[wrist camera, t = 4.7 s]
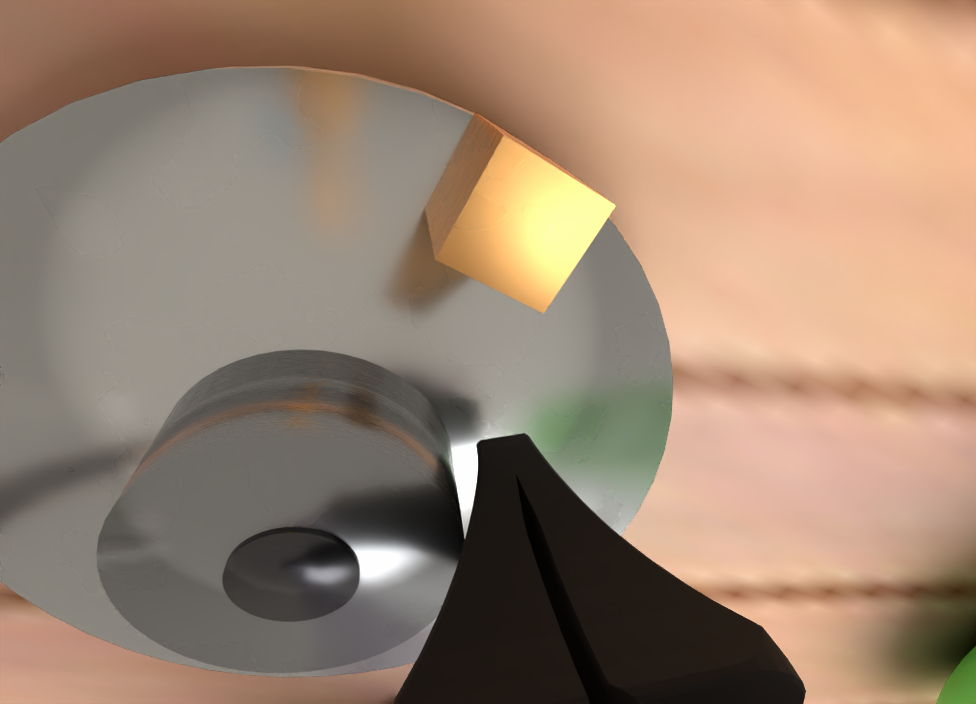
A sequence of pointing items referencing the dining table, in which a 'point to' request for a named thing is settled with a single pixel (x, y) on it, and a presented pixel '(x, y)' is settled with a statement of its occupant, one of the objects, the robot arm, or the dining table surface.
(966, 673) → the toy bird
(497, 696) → the robot arm
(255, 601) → the cover
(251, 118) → the disc
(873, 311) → the dining table surface
